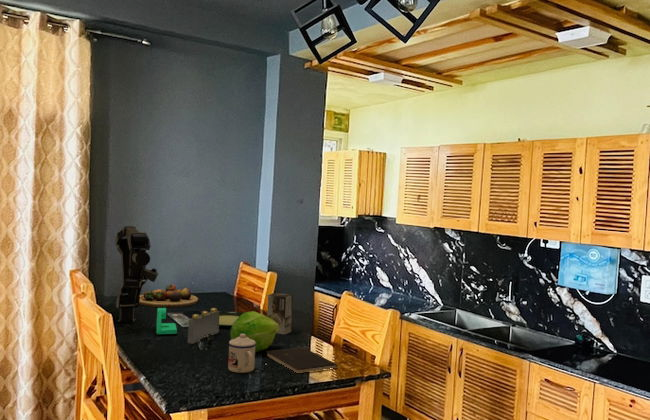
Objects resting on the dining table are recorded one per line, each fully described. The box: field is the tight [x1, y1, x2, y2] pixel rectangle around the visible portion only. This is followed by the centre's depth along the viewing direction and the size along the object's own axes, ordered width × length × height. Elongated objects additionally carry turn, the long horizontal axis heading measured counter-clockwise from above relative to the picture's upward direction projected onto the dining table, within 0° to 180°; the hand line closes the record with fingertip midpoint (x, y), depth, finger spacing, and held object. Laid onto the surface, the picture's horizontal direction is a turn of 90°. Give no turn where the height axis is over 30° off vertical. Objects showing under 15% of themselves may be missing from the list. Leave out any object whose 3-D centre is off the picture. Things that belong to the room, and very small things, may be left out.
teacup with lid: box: [227, 334, 256, 374], centre depth 182 cm, size 12×9×12 cm
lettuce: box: [229, 310, 280, 353], centre depth 207 cm, size 15×20×14 cm
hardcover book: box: [265, 346, 338, 374], centre depth 195 cm, size 16×23×2 cm
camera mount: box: [155, 307, 178, 335], centre depth 226 cm, size 12×8×10 cm, turn 19°
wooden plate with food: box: [139, 283, 199, 309], centre depth 289 cm, size 32×32×8 cm
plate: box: [199, 310, 245, 328], centre depth 250 cm, size 28×28×2 cm
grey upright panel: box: [187, 307, 220, 344], centre depth 221 cm, size 20×2×10 cm, turn 162°
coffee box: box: [266, 292, 294, 335], centre depth 237 cm, size 9×6×16 cm
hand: (135, 300), depth 228 cm, fingers open, 8 cm apart
